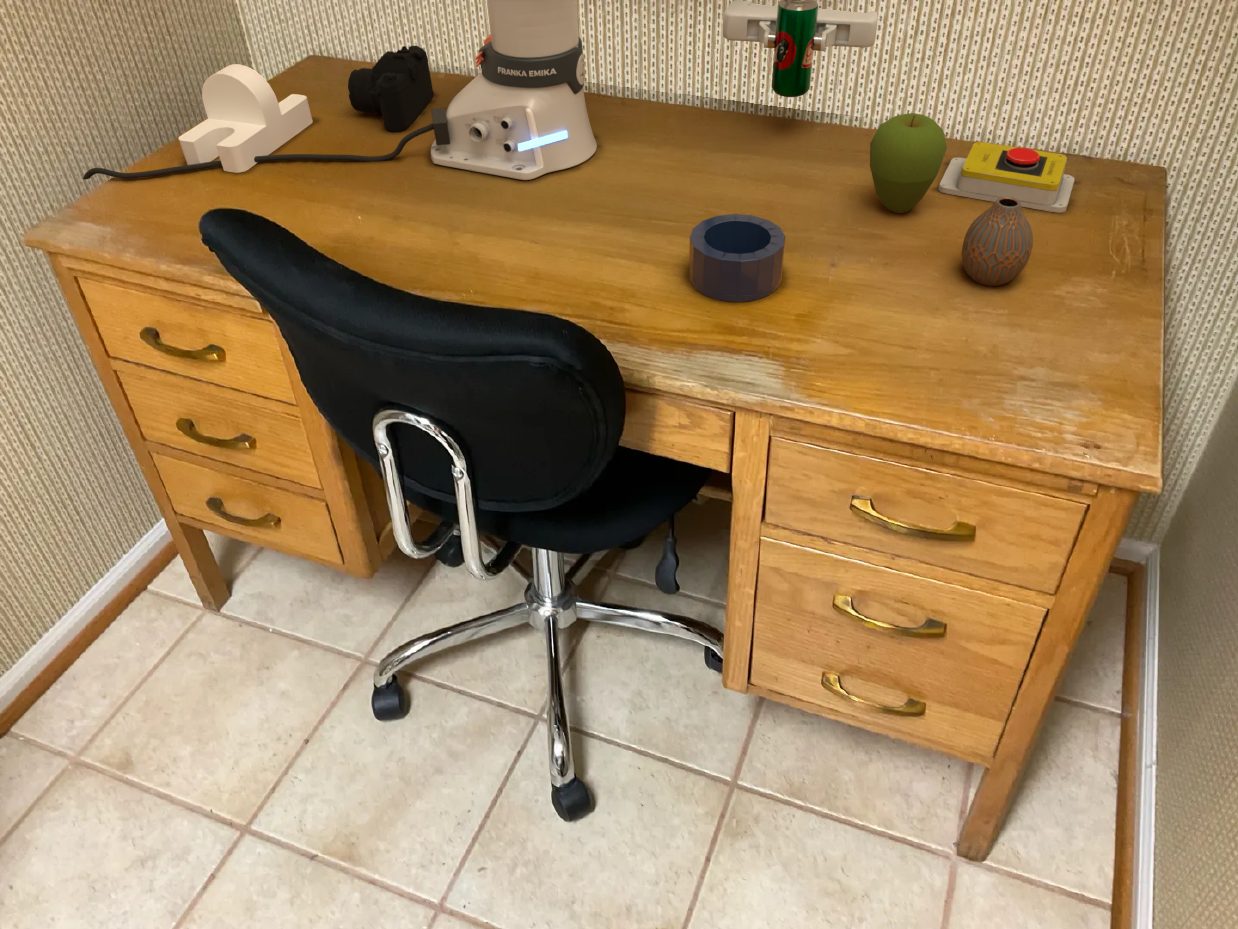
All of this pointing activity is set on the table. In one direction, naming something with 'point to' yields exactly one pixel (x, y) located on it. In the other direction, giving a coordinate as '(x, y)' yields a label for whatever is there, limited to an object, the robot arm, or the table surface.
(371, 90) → the film camera
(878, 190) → the apple
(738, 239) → the socket
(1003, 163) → the emergency button
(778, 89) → the soda can
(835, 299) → the table surface
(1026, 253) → the vase
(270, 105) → the white slotted bracket
